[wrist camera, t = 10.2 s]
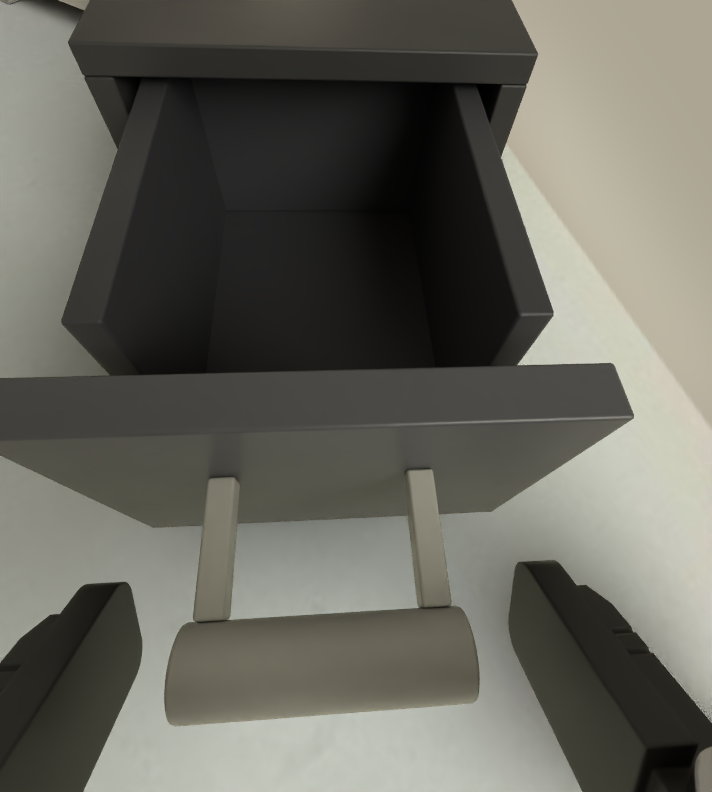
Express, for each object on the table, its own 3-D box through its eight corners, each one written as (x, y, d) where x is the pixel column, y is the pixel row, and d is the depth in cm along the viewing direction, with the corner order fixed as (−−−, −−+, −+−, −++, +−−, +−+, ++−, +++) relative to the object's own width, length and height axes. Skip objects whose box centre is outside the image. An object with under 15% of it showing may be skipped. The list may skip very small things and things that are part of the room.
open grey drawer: (523, 663, 12) (759, 724, 5) (124, 691, 12) (-180, 803, 5) (433, 219, 21) (481, 26, 14) (201, 219, 20) (133, 16, 13)
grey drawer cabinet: (453, 290, 20) (539, 53, 12) (184, 293, 19) (66, 42, 11) (414, 105, 27) (450, -126, 19) (217, 102, 26) (161, -141, 18)
